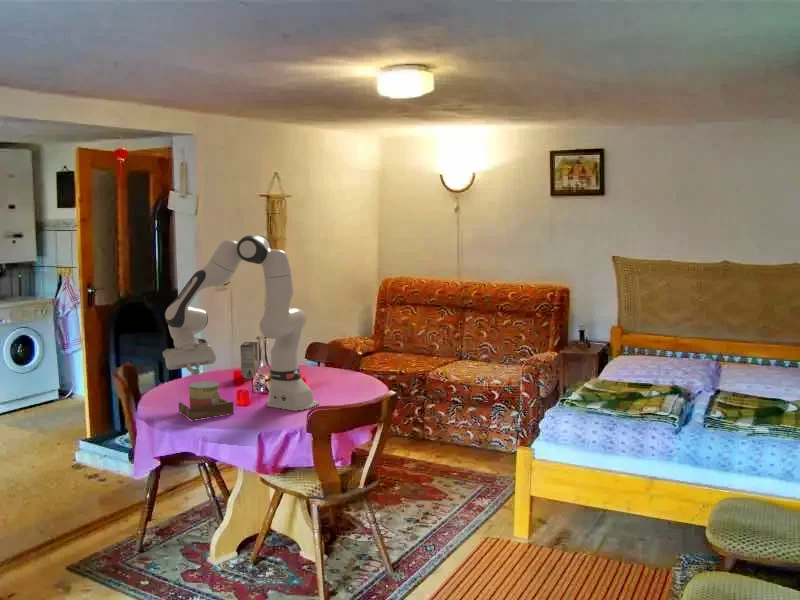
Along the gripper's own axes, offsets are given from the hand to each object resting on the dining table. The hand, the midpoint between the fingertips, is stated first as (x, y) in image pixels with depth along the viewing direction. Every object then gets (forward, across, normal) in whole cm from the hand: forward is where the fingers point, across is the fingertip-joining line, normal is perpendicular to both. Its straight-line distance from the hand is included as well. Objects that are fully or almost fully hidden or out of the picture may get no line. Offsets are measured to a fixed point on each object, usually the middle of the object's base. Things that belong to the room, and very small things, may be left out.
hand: (195, 373), depth 308 cm
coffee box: (-16, +38, +35) cm, 54 cm away
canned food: (+18, -1, +2) cm, 18 cm away
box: (+17, 0, +2) cm, 17 cm away
